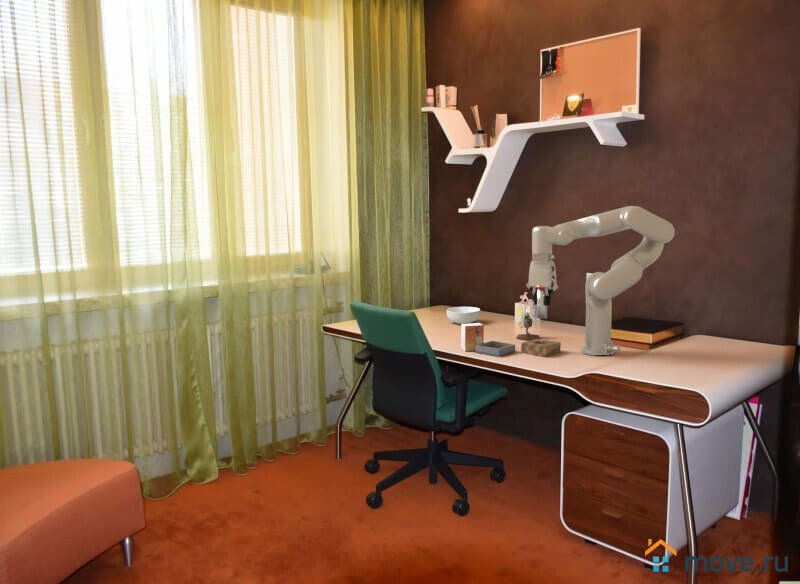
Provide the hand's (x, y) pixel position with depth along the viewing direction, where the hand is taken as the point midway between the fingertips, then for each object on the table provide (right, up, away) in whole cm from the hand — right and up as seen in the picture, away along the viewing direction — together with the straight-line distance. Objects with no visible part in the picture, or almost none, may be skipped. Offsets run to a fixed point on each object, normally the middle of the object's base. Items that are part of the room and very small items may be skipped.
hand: (541, 304), depth 255 cm
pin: (0, -5, +1) cm, 5 cm away
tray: (-18, -19, +5) cm, 26 cm away
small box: (-26, -19, +10) cm, 34 cm away
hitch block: (0, -19, +3) cm, 19 cm away
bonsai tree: (0, -16, +30) cm, 34 cm away
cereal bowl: (-24, -11, +68) cm, 73 cm away
